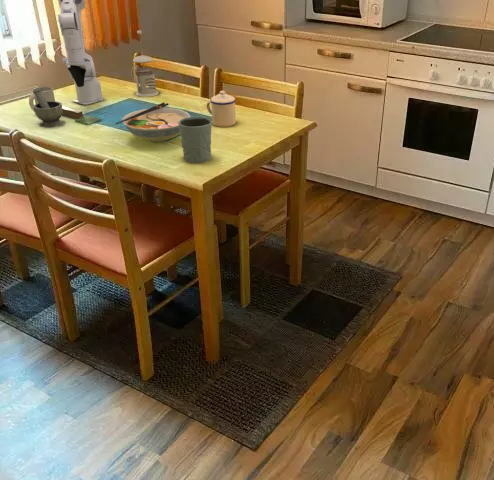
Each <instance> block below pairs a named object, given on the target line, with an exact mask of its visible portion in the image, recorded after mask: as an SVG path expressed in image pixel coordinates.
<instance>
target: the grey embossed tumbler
mask: <svg viewBox="0 0 494 480" xmlns="http://www.w3.org/2000/svg"><path fill="white" fill-rule="evenodd" d="M178 123H179V129H180V134H179V135H180V138H181V146H182V152H183V153H182V154H183V159H184V161H185V162H187V163H190V164H203V163H206V162H209V161H210V160H211V159H212V125H213V123H212V119H210V118H208V117H203V116H190V117H188V118H184V119H181V120H180V121H179V122H178Z"/></svg>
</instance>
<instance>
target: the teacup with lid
mask: <svg viewBox="0 0 494 480" xmlns="http://www.w3.org/2000/svg"><path fill="white" fill-rule="evenodd" d="M210 106H211V107H210ZM206 110H207V112H208V113H209V114H210V115H211V121H212V125H214V126H215V127H221V128H225V127H226V128H227V127H232V126H234V125H236V123H237V118H236V97H235V96H233V95H230V94H228V93H226V91H225V90H220V91H219V93H217V94H216V95H214V96H212V97H211V98H210V99H209V101H207V102H206Z"/></svg>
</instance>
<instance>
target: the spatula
mask: <svg viewBox="0 0 494 480" xmlns="http://www.w3.org/2000/svg"><path fill="white" fill-rule="evenodd" d="M61 116H62V117H63V116H64V117H66V118H71V119H74V121H75V122H76V123H79V124H83V125H87V126H91V125H92V124H95V123H98V122H100V121H101V120H102V119H101V118H99V117H94V116H91V115H86V116H84V113H83V110H79V109H75V108H71V107H67V106H63V105H62V115H61Z"/></svg>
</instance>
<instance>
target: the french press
mask: <svg viewBox="0 0 494 480" xmlns="http://www.w3.org/2000/svg"><path fill="white" fill-rule="evenodd" d="M142 31H143V30H141V29H140V30H137V31H136V34H138V35H139V36H141V34H143V32H142ZM139 40H140V42H139V43H140V44H142V40H141V38H139ZM140 50H141V52H143V47H142V46H140ZM132 62H133V63H136V64H142V65H143V67H139V65H136V64H134V65H132V68H131V71H130V75H131V80H132V81H133V82H134V84H136V92H135V96H138V97H142V98H143V97H145V98H146V97H155V96H157V95H159V93H160V92H159V90H157V84H156V77H155V76H156V75H155V73H154V72H153V71H154V69H153V68H152V67H145V64H147V63H151V62H153V58H152V57H151V56H149V55H145V54H141V55H137V56H135V57H134V58H133V59H132ZM134 67H135V68H134ZM133 69H134V70H133ZM133 77H134V78H133Z"/></svg>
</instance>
